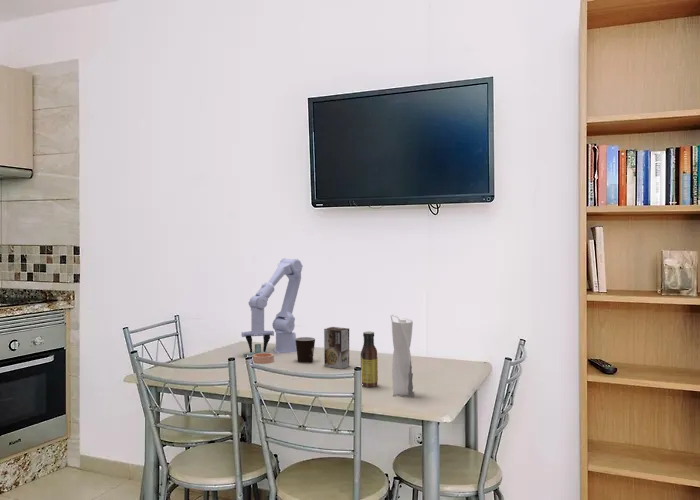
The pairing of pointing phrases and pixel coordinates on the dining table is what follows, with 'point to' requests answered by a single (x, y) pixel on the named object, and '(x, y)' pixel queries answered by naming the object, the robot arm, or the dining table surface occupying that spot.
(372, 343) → the sauce bottle
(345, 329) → the cookie box
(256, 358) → the bowl
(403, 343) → the skyscraper
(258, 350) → the lid
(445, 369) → the dining table surface
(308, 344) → the coffee mug
